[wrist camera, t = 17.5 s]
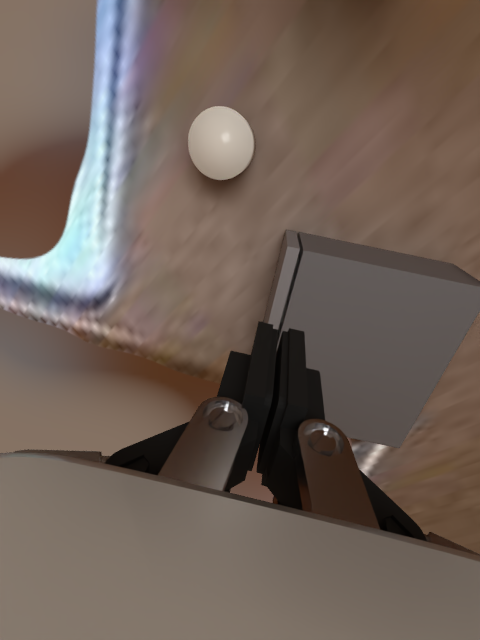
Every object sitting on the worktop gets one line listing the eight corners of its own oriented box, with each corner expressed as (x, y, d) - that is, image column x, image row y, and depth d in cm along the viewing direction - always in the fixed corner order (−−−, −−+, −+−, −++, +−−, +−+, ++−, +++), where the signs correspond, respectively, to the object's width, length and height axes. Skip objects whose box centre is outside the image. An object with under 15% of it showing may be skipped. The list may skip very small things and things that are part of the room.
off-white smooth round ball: (261, 118, 28) (258, 113, 24) (249, 181, 30) (245, 185, 27) (202, 106, 28) (191, 99, 24) (195, 170, 30) (184, 173, 27)
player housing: (453, 264, 32) (492, 289, 26) (381, 405, 40) (399, 448, 34) (298, 232, 32) (303, 250, 26) (259, 379, 40) (257, 418, 34)
